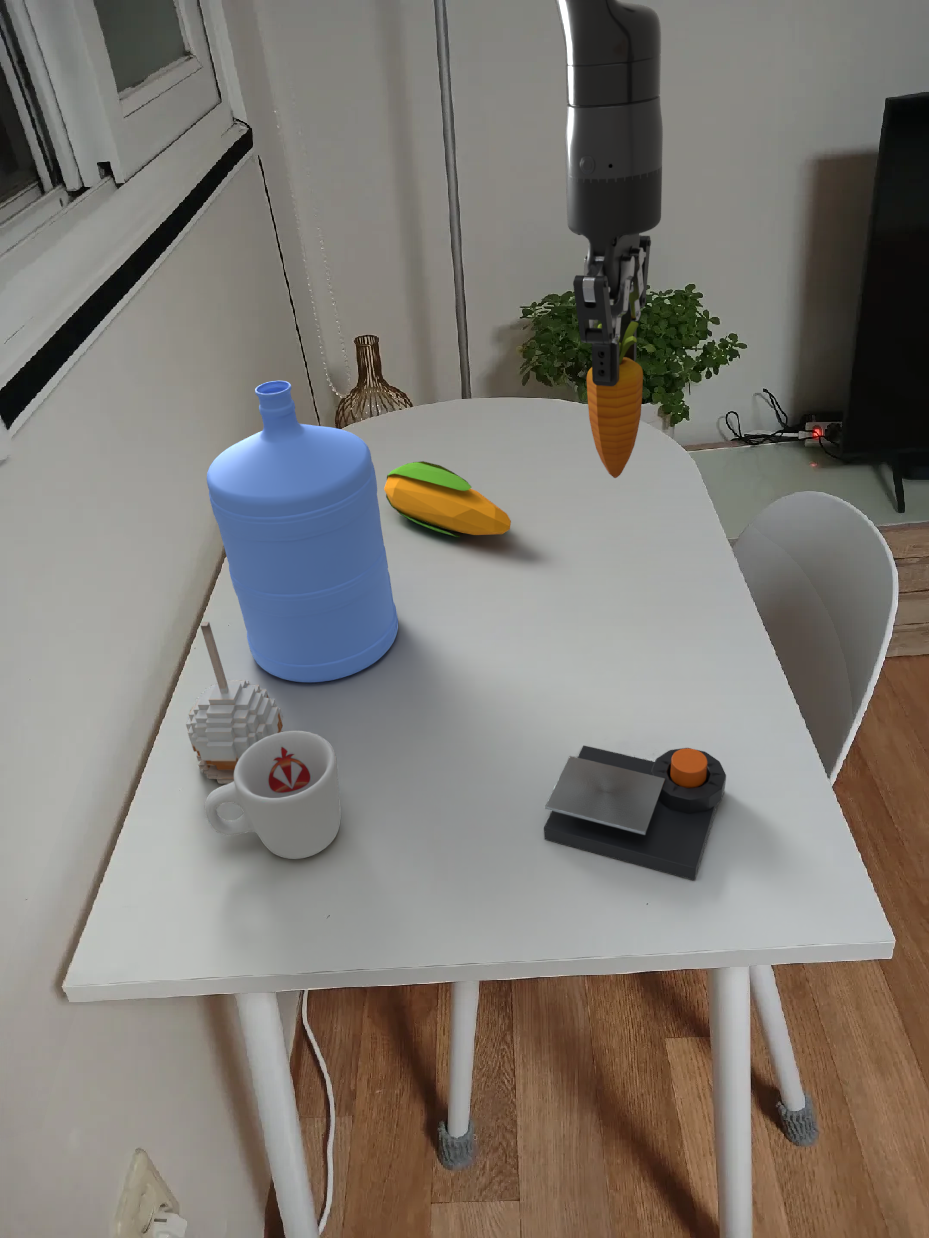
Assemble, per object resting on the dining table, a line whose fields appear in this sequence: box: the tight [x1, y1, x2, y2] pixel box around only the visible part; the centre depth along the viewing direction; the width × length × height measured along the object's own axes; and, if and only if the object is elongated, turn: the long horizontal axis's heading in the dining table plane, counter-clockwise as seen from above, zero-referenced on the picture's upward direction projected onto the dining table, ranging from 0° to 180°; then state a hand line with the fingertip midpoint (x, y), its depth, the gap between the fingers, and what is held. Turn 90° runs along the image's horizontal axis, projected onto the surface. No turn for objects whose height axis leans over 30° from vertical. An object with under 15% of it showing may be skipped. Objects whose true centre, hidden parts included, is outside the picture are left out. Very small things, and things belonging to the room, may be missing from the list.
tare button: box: [670, 747, 707, 788], centre depth 76 cm, size 3×3×2 cm
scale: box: [543, 745, 727, 881], centre depth 77 cm, size 12×11×3 cm
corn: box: [383, 460, 512, 538], centre depth 116 cm, size 7×8×20 cm
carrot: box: [586, 321, 644, 479], centre depth 86 cm, size 5×5×15 cm
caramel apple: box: [185, 621, 284, 784], centre depth 82 cm, size 8×8×15 cm
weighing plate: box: [544, 755, 665, 835], centre depth 75 cm, size 8×6×1 cm
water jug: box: [206, 380, 399, 683], centre depth 92 cm, size 16×16×28 cm
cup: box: [204, 730, 342, 860], centre depth 76 cm, size 11×8×8 cm
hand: (614, 372), depth 85 cm, fingers closed on carrot, 4 cm apart
